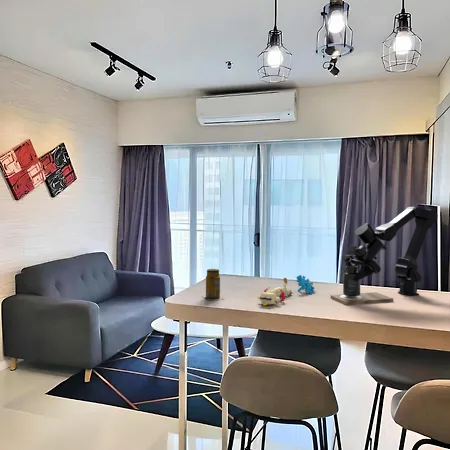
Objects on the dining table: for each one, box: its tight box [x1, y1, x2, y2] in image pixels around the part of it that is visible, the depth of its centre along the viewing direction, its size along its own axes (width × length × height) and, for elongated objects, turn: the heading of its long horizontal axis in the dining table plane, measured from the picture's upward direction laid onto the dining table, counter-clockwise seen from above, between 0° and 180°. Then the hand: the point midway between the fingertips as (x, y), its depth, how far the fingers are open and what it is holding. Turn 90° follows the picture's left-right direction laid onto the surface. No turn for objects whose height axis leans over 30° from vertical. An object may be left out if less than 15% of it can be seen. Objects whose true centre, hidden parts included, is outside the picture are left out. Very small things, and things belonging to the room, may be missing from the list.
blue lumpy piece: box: [296, 274, 315, 295], centre depth 197 cm, size 11×6×10 cm
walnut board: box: [330, 291, 394, 306], centre depth 182 cm, size 22×12×1 cm, turn 105°
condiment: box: [202, 268, 225, 301], centre depth 185 cm, size 7×8×12 cm
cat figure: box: [257, 277, 293, 306], centre depth 182 cm, size 10×9×25 cm
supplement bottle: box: [342, 265, 361, 296], centre depth 181 cm, size 7×7×12 cm
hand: (348, 279), depth 180 cm, fingers closed on supplement bottle, 7 cm apart
